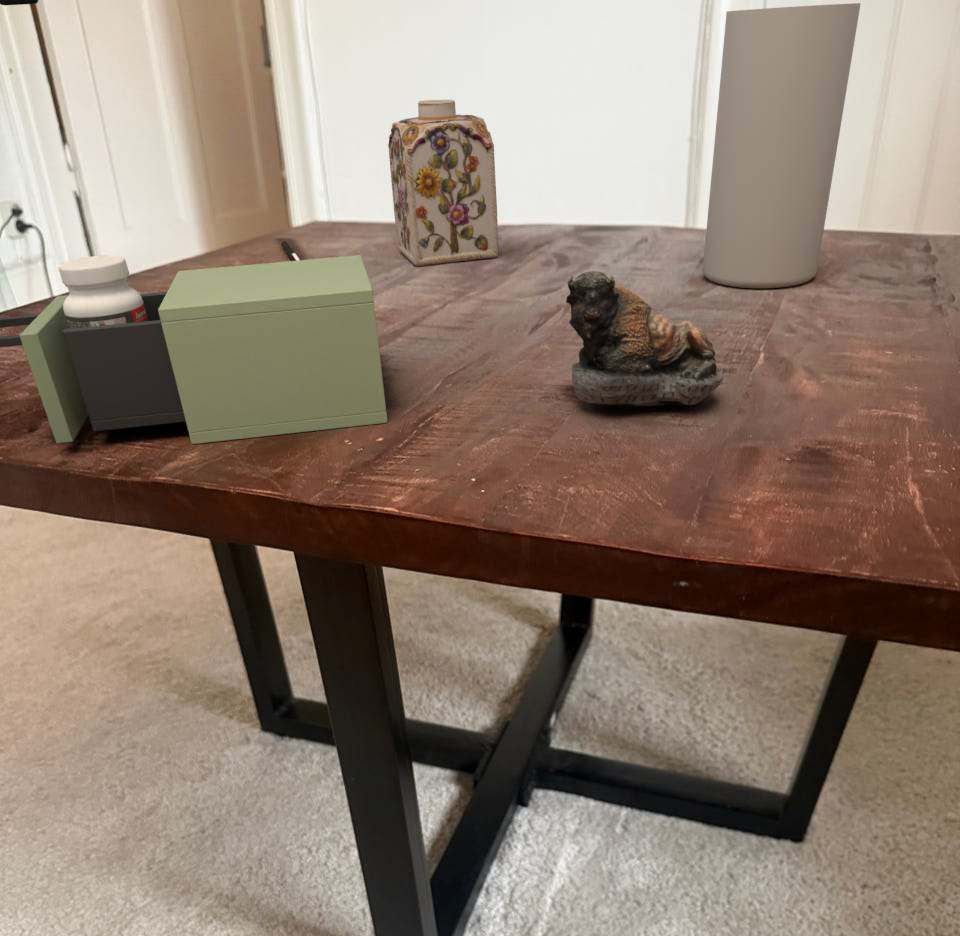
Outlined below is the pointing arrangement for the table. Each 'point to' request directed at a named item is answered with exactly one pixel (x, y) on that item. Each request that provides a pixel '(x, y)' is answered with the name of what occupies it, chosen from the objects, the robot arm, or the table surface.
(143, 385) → the pull-out drawer
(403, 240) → the decorative jar
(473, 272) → the table surface
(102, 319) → the pill bottle
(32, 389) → the table surface
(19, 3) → the robot arm
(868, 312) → the table surface
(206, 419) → the sage green drawer box
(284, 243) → the pen
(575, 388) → the bison figurine
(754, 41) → the cylinder vase
